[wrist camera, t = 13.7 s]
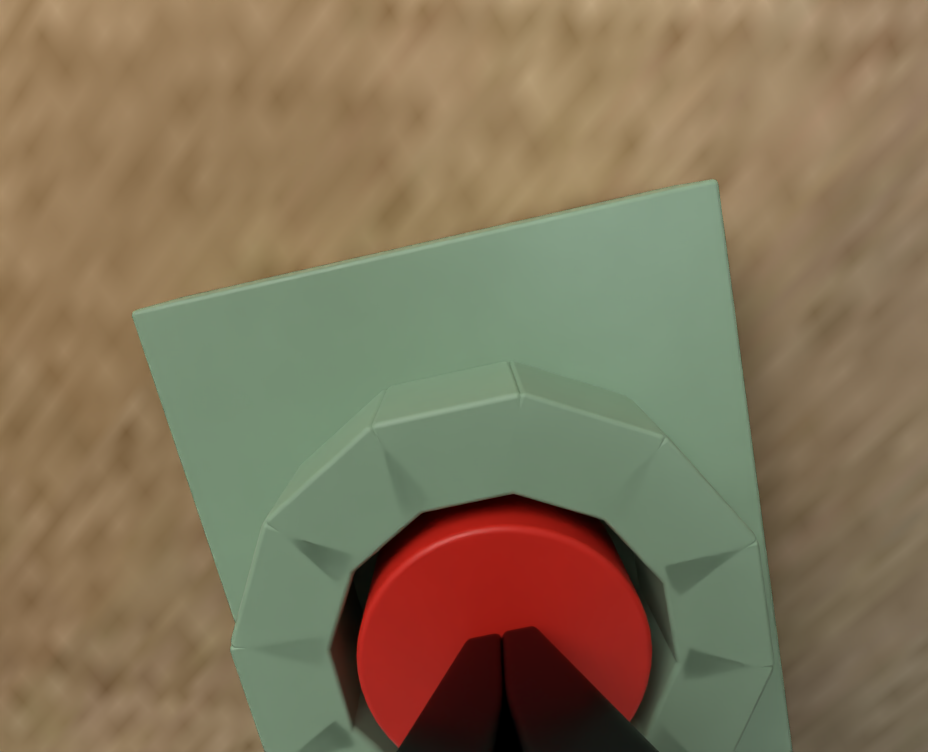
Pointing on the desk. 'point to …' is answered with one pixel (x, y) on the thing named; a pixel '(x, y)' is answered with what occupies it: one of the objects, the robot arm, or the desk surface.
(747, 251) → the desk surface
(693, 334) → the button block
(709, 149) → the desk surface
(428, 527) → the button
